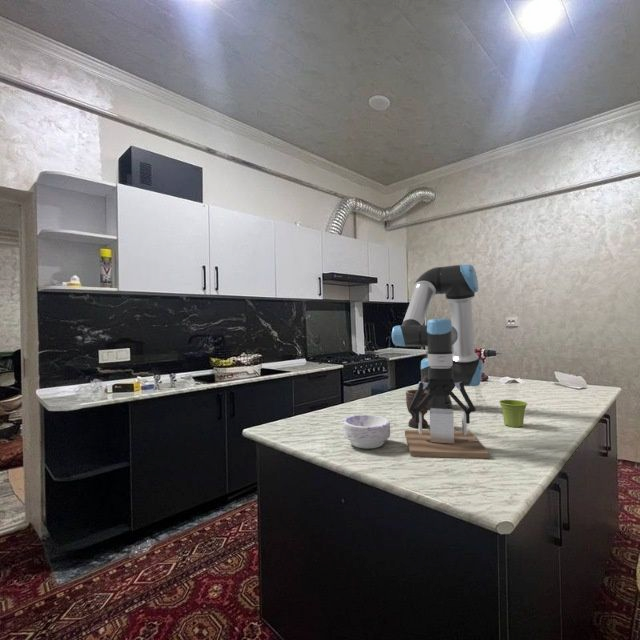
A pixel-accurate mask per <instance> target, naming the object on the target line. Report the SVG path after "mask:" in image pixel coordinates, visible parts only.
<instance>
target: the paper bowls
mask: <svg viewBox="0 0 640 640" xmlns="http://www.w3.org/2000/svg"><path fill="white" fill-rule="evenodd" d="M342 425H343V437H344V438H345V439H347V440H349V442H350V444H351V445H352V446H354V447H355V448H358V449H366V450H369V449H376V448H379V447H381V446H382V445H383V444H384V442H385V441H386V440H388V439H389V438H390V437H391V421H390V420H389V419H388V418H386V417H384V416H379V415H374V414H373V415H372V414H356V415H350V416H347V417H345V418H344V419H343V421H342Z"/></svg>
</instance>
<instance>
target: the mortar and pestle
mask: <svg viewBox="0 0 640 640" xmlns="http://www.w3.org/2000/svg"><path fill="white" fill-rule="evenodd" d="M428 380H429V377H428V375H426V376H424V378H423V380H422V382H424V383H428ZM427 387H428V386H426V387H425V389H423V391H422V393H421V395H420V397H419V399H418V401H417V403H416V405H415V408H416V407H417V405H418V404H419V403H420V402H421V401H422V400H423V398H424V397H425V396H426V395H427V393H428V391H426V388H427ZM417 389H418V388H417ZM417 389H409V390H408V389H407V390H406V391H405V404H406V407H407V408H406V409H407V412H408V413H409V414H410V415H411V419H409V420H408V424H407V425H408V426H409V427H410V428H418V429H419V423H416V421H415V412H413V411H410V409H409V406H410V404H411V402H412V400H413V398H414V396H415V394H416V391H417ZM428 408H429V401H428V402H427V404H426V405H425V406H424V407H423V408H422V409H421V411H420V412H421V414H422V429H425V428H428V427H429V423H428V421H427V420H426V419H425V415H427V413H428V412H429V410H428Z"/></svg>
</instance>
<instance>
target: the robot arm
mask: <svg viewBox="0 0 640 640" xmlns="http://www.w3.org/2000/svg"><path fill="white" fill-rule="evenodd" d="M478 283H479V281H478V276H477V272H476V269H475V267H474V266H473V265H472V264H455V265H446V266H435V267H432V268H430V269H428V270H426V271H424V272H423V273H422V274H421V275H420V276H419V277H418V278H417V279H416V281H415V282H414V284H413V287H412V296H411V299H410V302H409V304H408V306H407V309H406V312H405V316H404V318H403V321H402V324H401V325H395V326H393V327H392V331H391V340H392V343H393V345H394V346H396V347H404V348H405V347H427V357H426V358H425V357H424V358H423V359H422V360H421V361H420V379H421V380H420V381H418V385H417V386H418V388H417V391H416V394H415V396H414V398H413V400H412V402H411V404H410V406H409V409H410V411H413V412H415V421H416V423H419V428H418V430H419V434H422V430H423V428H422V414H421V412H420V411H421V409H422V408H423V407H424V406H425V405H426V404H427V402H428V401H429V408H428V411H430V409H431V408H436V409H452V408H453V401H455V403H456V404H457V405H459V407H460V408H461V409H462V410H463V411H462V412H461V431H462V433H463V434H464V435H467V431H468V429H467V424H468V425H469V424H470V423H471V419H470V415H471V413H473V412H474V413H475V412H476V407H475V406H474V404H473V402H472V400H471V398H470V396H469V395H468V392H467V391H466V389H465V387H478V386H480V384H481V382H482V376H483V375H482V373H483V364H484V363H483V362H484V361H483V360H482V359H480V358H479V355H478V354H477V353H476V352H475V343H474V342H475V341H474V340H475V338H474V337H475V336H474V326H473V325H474V323H473V309H472V300H474V298H475V297H476V295H475V294H476V293H477V292H478V291H479V284H478ZM436 295H444V296H445V299H446V300H448V301H449V308H450V318H432V319H431V318H430V319H428V321H427V322H426V324H424V323H425V320H426V317H427V313H428V310H429V308H430V306H431V305H430V304H431V302H432V301H431V300H432V299H433V298H434V297H435V296H436ZM426 375H428V377H429V380H428V383H424V382H422V380H423V378H424V376H426ZM426 386H428V387H427V388H426V391H428V393H427V395H426V396H425V397H424V398H423V400H422V401H421V402H420V403H419V404H418V405H417V407H416V408H415V405H416V403H417V401H418V399H419V397H420V395H421V393H422V391H423V389H425V387H426ZM455 388H457V390H459V392H460V394H461V395H462V397H463V399H464V401H465V402H466V405H467V406H468V407H467V406H466V405H464V403H463V401H461V400H460V399H459V397H458V396H457V395H456V394H455V393H454V392H453V390H454V389H455ZM452 399H453V401H452Z"/></svg>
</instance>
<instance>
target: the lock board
mask: <svg viewBox="0 0 640 640" xmlns="http://www.w3.org/2000/svg"><path fill="white" fill-rule="evenodd" d="M404 435H405V436H404V437H405V440H406V444H407V448H408V451H409V456H410V457H423V458H424V457H425V458H427V457H428V458H456V459H457V458H459V459H487V460H488V459H490V453H489V451H488V450H487V448H485V446H483V444H481V442H480V440H479V439H477V437H476V436H475V435H474V434H473V432H471V431H470V430H467V435H464V434H463V433H462V430H454V444H452V443H439V442H431V439H430V430H428V429H427V430H426V429H422V434H419V429H404Z"/></svg>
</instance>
